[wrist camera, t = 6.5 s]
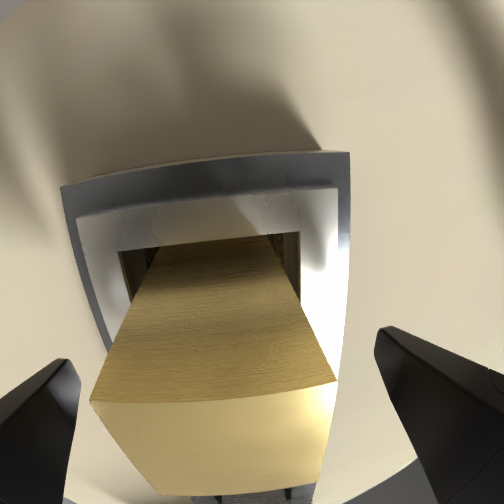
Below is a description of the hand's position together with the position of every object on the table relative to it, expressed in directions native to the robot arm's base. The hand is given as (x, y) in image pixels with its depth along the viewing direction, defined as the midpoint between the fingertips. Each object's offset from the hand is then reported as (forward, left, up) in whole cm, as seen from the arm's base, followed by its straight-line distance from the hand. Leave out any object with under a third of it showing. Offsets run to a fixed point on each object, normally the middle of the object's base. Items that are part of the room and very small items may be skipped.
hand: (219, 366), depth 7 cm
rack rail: (0, +8, -5) cm, 9 cm away
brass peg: (0, 0, -5) cm, 5 cm away
